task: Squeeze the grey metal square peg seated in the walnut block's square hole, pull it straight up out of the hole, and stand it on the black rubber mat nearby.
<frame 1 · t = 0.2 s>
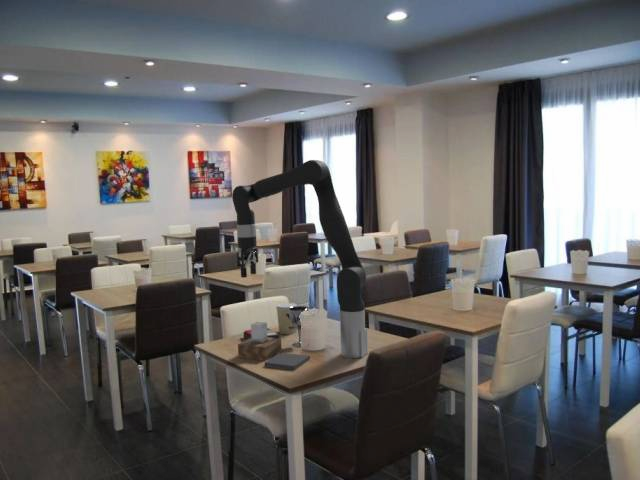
hand: (248, 275, 216), 28 cm above the table, tool pointing down, fingers open, 8 cm apart
wine glass: (300, 345, 216), on the table
mat: (287, 363, 194), on the table
coffee cup: (288, 332, 236), on the table
peg: (259, 338, 205), in the socket block
calculator: (261, 341, 225), on the table
socket block: (260, 354, 205), on the table
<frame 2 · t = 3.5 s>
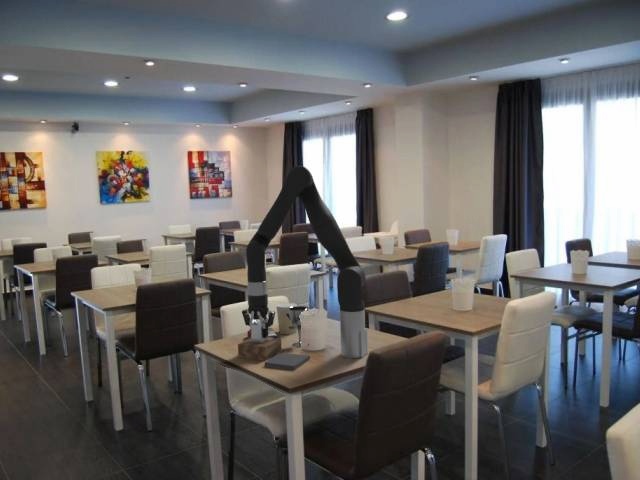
hand: (259, 336, 205), 7 cm above the table, tool pointing down, fingers closed on peg, 4 cm apart
peg: (259, 338, 205), in the socket block, touching gripper
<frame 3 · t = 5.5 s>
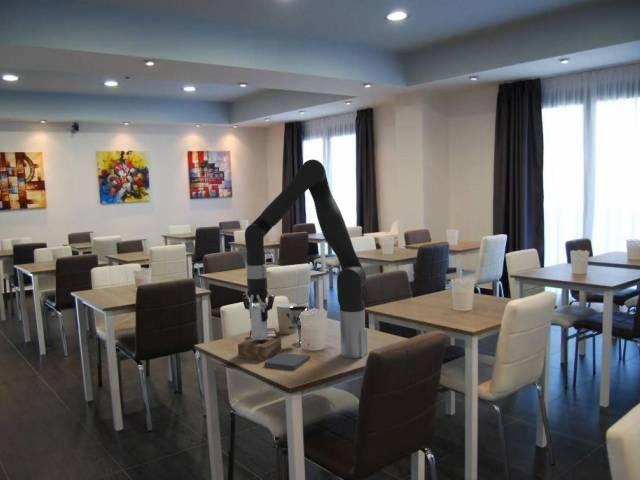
hand: (259, 320, 204), 13 cm above the table, tool pointing down, fingers closed on peg, 4 cm apart
peg: (259, 322, 204), point 12 cm above the table, touching gripper
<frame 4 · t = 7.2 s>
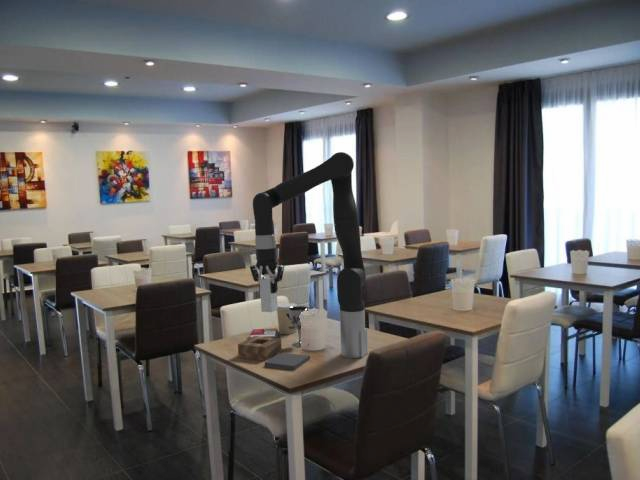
hand: (268, 292, 198), 25 cm above the table, tool pointing down, fingers closed on peg, 4 cm apart
peg: (268, 294, 198), point 24 cm above the table, touching gripper
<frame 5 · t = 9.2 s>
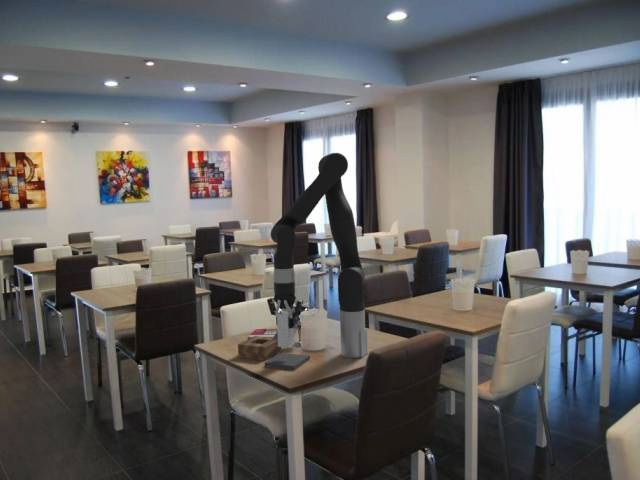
hand: (285, 327, 192), 13 cm above the table, tool pointing down, fingers closed on peg, 4 cm apart
peg: (285, 329, 193), point 12 cm above the table, touching gripper
when the fingers open (9 cm above the table, at t = 10.9 s): peg stays where it is, resting on mat.
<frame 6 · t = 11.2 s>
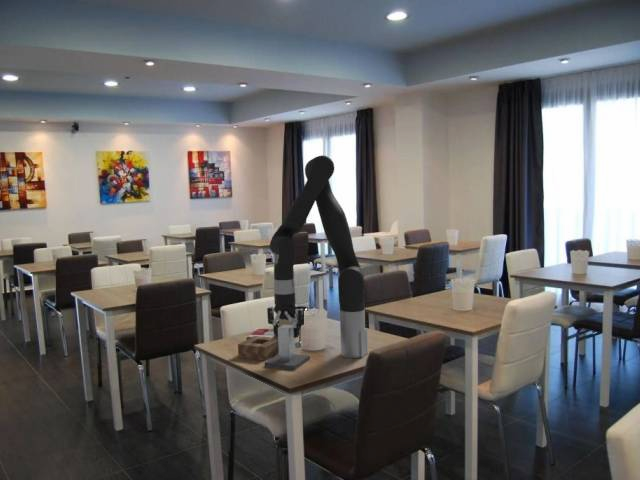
hand: (286, 336, 193), 10 cm above the table, tool pointing down, fingers open, 7 cm apart
peg: (286, 342, 193), on the mat, point 8 cm above the table
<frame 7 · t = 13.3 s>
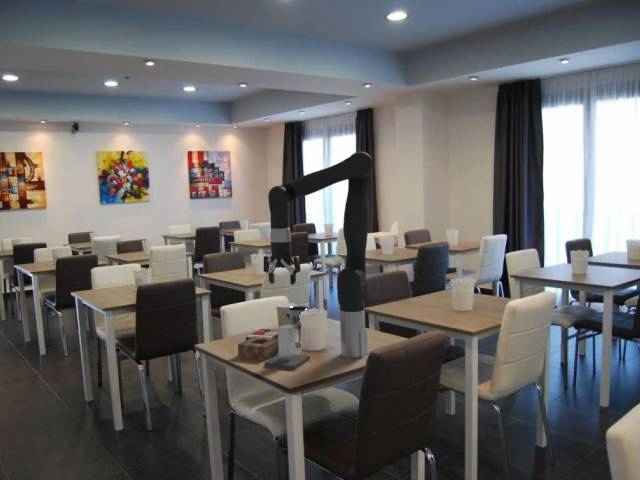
hand: (282, 283, 198), 28 cm above the table, tool pointing down, fingers open, 8 cm apart
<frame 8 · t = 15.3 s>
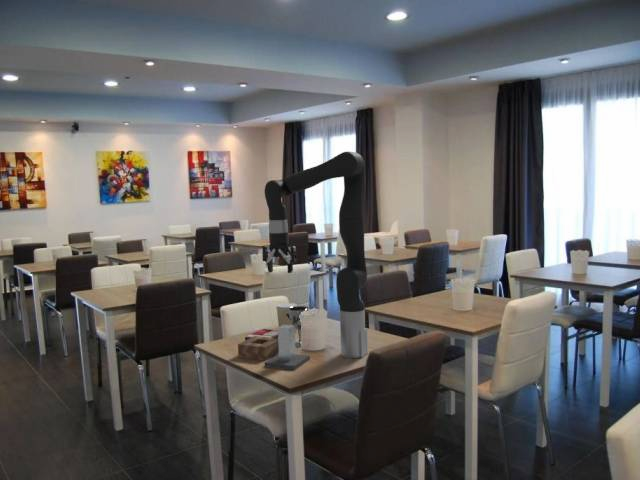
hand: (280, 272, 211), 30 cm above the table, tool pointing down, fingers open, 8 cm apart
at the end: peg inside the target area on the mat (0.1 cm from its centre), point 7.5 cm above the mat's base; peg tilted 0°; the gripper is holding nothing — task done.
